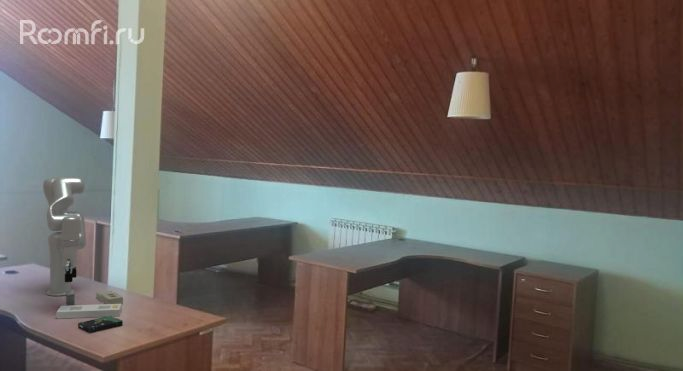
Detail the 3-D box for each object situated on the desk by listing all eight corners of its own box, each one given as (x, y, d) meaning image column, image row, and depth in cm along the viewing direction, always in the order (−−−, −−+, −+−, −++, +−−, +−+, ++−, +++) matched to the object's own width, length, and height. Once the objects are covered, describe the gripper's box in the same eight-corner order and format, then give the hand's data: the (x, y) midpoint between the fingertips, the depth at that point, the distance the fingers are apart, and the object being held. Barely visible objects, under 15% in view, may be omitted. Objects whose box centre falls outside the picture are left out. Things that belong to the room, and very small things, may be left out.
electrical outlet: (111, 288, 292) (123, 296, 278) (111, 296, 292) (123, 305, 278) (96, 290, 287) (107, 298, 274) (96, 298, 288) (107, 307, 274)
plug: (66, 307, 269) (66, 291, 268) (75, 307, 270) (75, 290, 269) (65, 310, 265) (65, 293, 265) (74, 309, 266) (74, 293, 266)
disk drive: (89, 335, 235) (123, 326, 247) (89, 328, 235) (123, 320, 247) (77, 329, 242) (110, 321, 253) (77, 322, 242) (110, 315, 253)
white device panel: (61, 312, 262) (61, 305, 262) (121, 309, 269) (121, 303, 269) (56, 318, 252) (56, 311, 252) (119, 316, 259) (119, 309, 259)
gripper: (65, 240, 273) (65, 276, 274) (57, 246, 256) (57, 284, 257) (82, 240, 275) (82, 275, 276) (76, 246, 258) (76, 283, 259)
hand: (70, 279), depth 266 cm, fingers open, 9 cm apart
